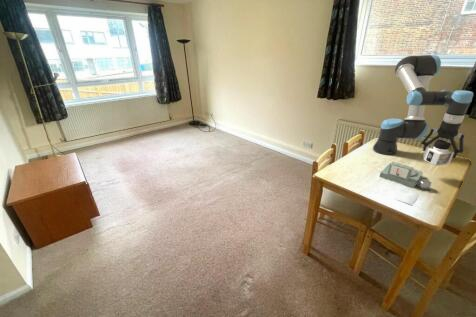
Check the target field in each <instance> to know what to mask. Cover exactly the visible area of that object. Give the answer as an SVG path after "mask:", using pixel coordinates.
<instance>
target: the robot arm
mask: <svg viewBox="0 0 476 317" xmlns="http://www.w3.org/2000/svg"><path fill="white" fill-rule="evenodd" d="M441 65H442V62H441V58H440V56H438V55H436V54H435V55H433V54H426V55H423V54H422V55H421V54H420V55H409V56H405V57H403V58H402V59H400V60H399V61H398V62H397V64H396V65H395V67H394V73H395V76H396V77H397V78H398V79H400V80H401V83H402V84H403V86H404V88H405V90H406V92H407V95H406V104H407V105H408V111H407V115H406V116H407V117H405V118H404V119H403V120H402V119H400V118H387V119H385V120H383V121H382V122H381V125H380V129H379V134H378V136H377V137H378V138H377V140H376V141H375V143H374V144H373V146H372V150H373V152H375V153H378V154H381V155H385V156H393V155H397V153H398V143H397V142H398V139H404V140H405V139H407V140H408V139H410V140H420V139H422V138H424V137H425V138H424V139H423V140H422V142H420V144H421V145H423V148H422V151H423V152H424V153H423V156H422V157H423V158H424V157H425V155H426V152H427V149H428V148H430V146H431V144H432V143H434V142H435V141H436V140H439V139H440V138H441V139H444V140H449V142H450V143H451V146H452V149H453V151H451V152H452V154H451V156H450V159H449V161H448V164H450V163H451V161H452V159H455V158H456V157H457V154H462V153H464V138H465V135H466V134H465V133H459V129H460V127H461V124H462V123H463V120H464V118H465V116H466V114H467V112H468V109H469V107H470V105H471V103H472V101H473V98H474V92H473V91H470V90H463V89H459V90H455V91H453V90H451V89H450V90H448V89H443V90H442V89H441V90H440V91H439V90H438V91H435V90H432V91H431V90H429V87H430V82H431V79H433V78H434V77H435V75H437V74H438V73H439V72H440V69H441ZM426 106H432V107H433V106H438V107H441V106H443V107H446V111H445V113H444V116H443V118H442V121H441V123H440V125H439V128H438V129H437V128H435V127H432V128H431V129H430V131H429V124H428V122H426V118H424V114H425V109H426ZM428 131H429V133H428ZM436 132H437V135H435V136H434V137H433V138H432V139H430V140H429V138H430V137H431V136H432V135H433V134H436ZM427 133H428V134H427ZM456 136H457V137H458V138H459V148H458V145H457V143H456V139H455V137H456ZM427 140H429V141H427Z"/></svg>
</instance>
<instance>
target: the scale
mask: <svg viewBox="0 0 476 317" xmlns="http://www.w3.org/2000/svg"><path fill="white" fill-rule="evenodd" d="M423 173H424V171H422V170H418V169H416V168H414V167H413V166H409V165H406V164H402V163H399V162H395V161H392V162H390V163H389V164H388V165H387V166H385V168H383V169H382V170H381V171H380V174H379V178H382V179H384V180H388V181H391V182H395V183H397V184H401V185H403V186H405V187H406V186H407V187H409V188H415V187H416V185H417V184H418V183H419V181H420V180H421V178H422V176H423Z"/></svg>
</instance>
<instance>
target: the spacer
mask: <svg viewBox="0 0 476 317" xmlns="http://www.w3.org/2000/svg"><path fill="white" fill-rule="evenodd" d="M417 184H418V185H417V186H416V187H417V189H420V190H421V191H425V192H426V191H429V190H430V188H431V185H432V182H431V181H430V180H427V179H421V178H420V179H419V181H418V182H417Z"/></svg>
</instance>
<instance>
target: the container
mask: <svg viewBox="0 0 476 317" xmlns="http://www.w3.org/2000/svg"><path fill="white" fill-rule="evenodd" d="M451 146H452V144H451V141H448V140H447V139H436V140H435V141H434V144H433V147H429V148H428V149H427V152H426V155H425V157H423V161H425V162H427V163H429V164H431V165H432V166H435V167H437V166H445V165H448V164H449V163H448V161H449V159H450V156H451V154H452V152H453V151H451V150H450V148H451Z"/></svg>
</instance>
